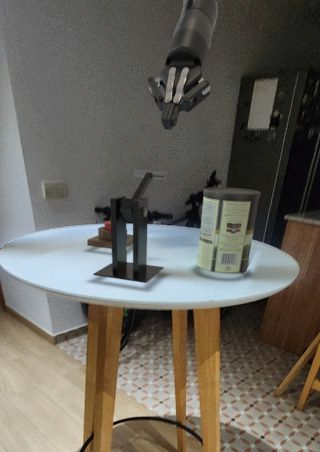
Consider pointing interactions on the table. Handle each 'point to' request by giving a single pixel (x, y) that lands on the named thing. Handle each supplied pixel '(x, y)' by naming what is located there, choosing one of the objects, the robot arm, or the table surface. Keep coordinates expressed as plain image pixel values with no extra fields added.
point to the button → (107, 225)
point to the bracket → (119, 244)
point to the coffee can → (227, 229)
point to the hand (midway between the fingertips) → (167, 125)
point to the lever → (139, 192)
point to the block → (106, 239)
